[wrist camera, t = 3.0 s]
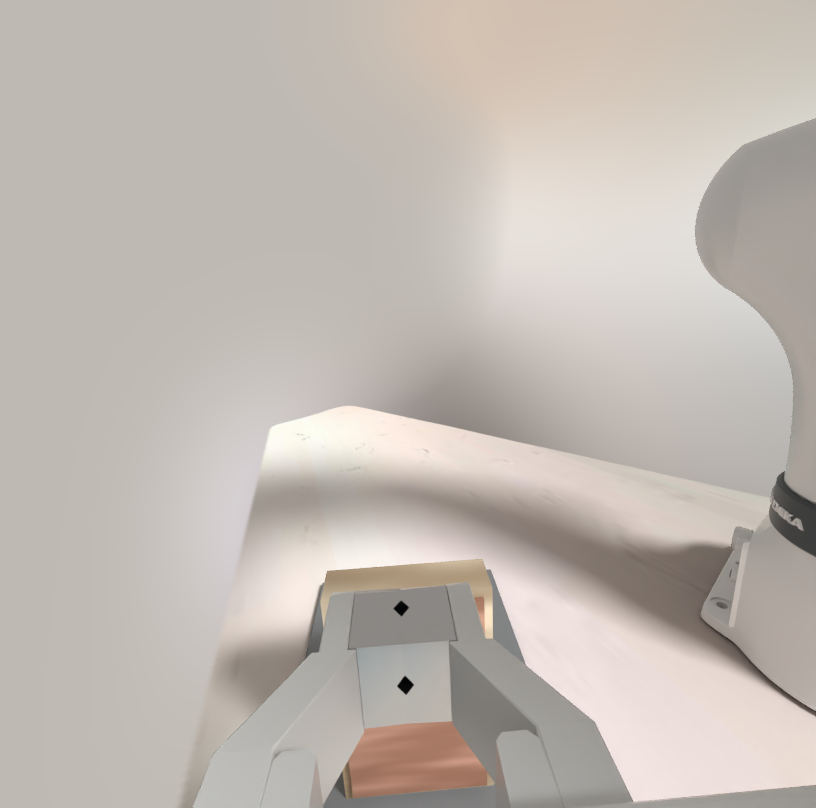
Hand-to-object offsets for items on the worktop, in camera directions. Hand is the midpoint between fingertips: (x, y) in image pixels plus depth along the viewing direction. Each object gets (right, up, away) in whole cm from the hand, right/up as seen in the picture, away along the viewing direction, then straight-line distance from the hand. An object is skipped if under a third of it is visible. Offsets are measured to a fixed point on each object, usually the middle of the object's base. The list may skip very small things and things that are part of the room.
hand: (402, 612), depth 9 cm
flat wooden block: (+1, -19, +17) cm, 25 cm away
